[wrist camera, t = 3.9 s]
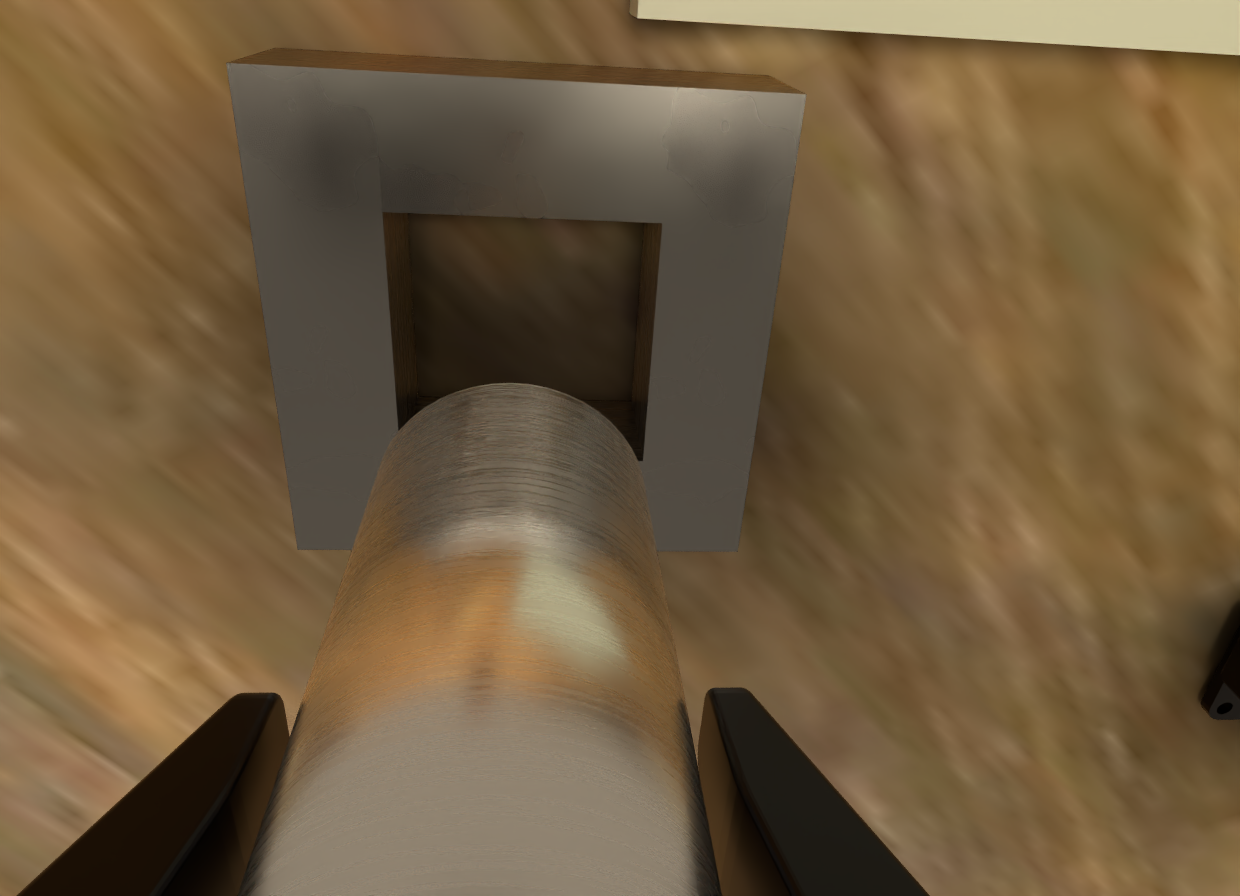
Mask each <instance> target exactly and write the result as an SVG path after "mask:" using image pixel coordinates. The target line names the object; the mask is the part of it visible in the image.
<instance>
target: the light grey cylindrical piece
mask: <svg viewBox="0 0 1240 896" xmlns="http://www.w3.org/2000/svg"><path fill="white" fill-rule="evenodd" d="M237 896H722V893H721V887H720V882H719V877H718V871H717V866H716V861H715V856H714V850H713V845H712V840H711V834H710V829H709V824H708V818H707V813H706V808H705V803H704V797H703V792H702V787H701V781H700V776H699V771H698V766H697V760H696V755H695V750H694V744H693V739H692V734H691V729H690V723H689V718H688V713H687V707H686V702H685V697H684V691H683V686H682V681H681V676H680V670H679V665H678V660H677V654H676V649H675V644H674V639H673V633H672V628H671V623H670V617H669V612H668V607H667V602H666V596H665V591H664V586H663V580H662V575H661V570H660V564H659V559H658V554H657V549H656V543H655V538H654V533H653V527H652V522H651V517H650V512H649V506H648V501H647V496H646V490H645V485H644V480H643V475H642V472H641V469H640V466H639V462H638V460H637V458H636V456H635V454H634V452H633V450H632V448H631V446H630V445H629V443H628V442H627V440H626V439H625V437H624V436H623V435H622V433H621V432H620V431H619V430H618V429H617V428H616V427H615V426H614V425H613V423H612V422H610V421H609V420H608V419H607V418H606V417H605V416H603V415H602V414H601V413H600V412H599V411H597V410H596V409H594V408H592V407H591V406H589V405H588V404H586V403H585V402H583V401H581V400H579V399H576V398H574V397H572V396H570V395H568V394H565V393H562V392H559V391H556V390H553V389H550V388H546V387H541V386H536V385H531V384H519V383H496V384H487V385H481V386H475V387H471V388H467V389H464V390H460V391H457V392H454V393H452V394H450V395H447V396H445V397H443V398H440V399H438V400H437V401H435V402H433V403H432V404H430V405H428V406H427V407H425V408H423V409H422V410H421V411H420V412H418V413H417V414H416V415H414V416H413V417H412V418H411V419H410V420H409V421H408V422H407V423H406V424H405V425H404V426H403V427H402V428H401V429H400V430H399V431H398V433H397V434H396V436H395V437H394V438H393V440H392V441H391V443H390V444H389V446H388V448H387V450H386V452H385V454H384V456H383V458H382V461H381V464H380V467H379V470H378V473H377V476H376V479H375V482H374V485H373V488H372V491H371V494H370V497H369V500H368V503H367V506H366V509H365V512H364V515H363V518H362V521H361V524H360V527H359V530H358V533H357V536H356V539H355V542H354V545H353V548H352V551H351V554H350V557H349V560H348V563H347V566H346V569H345V572H344V575H343V578H342V581H341V584H340V587H339V590H338V593H337V596H336V600H335V603H334V606H333V609H332V612H331V615H330V618H329V621H328V624H327V627H326V630H325V633H324V636H323V639H322V642H321V645H320V648H319V651H318V654H317V657H316V660H315V663H314V666H313V669H312V672H311V675H310V678H309V681H308V684H307V687H306V690H305V693H304V696H303V699H302V702H301V705H300V708H299V711H298V714H297V717H296V720H295V723H294V726H293V729H292V732H291V735H290V738H289V741H288V744H287V747H286V750H285V753H284V756H283V759H282V762H281V765H280V768H279V771H278V775H277V778H276V781H275V784H274V787H273V790H272V793H271V796H270V799H269V802H268V805H267V808H266V811H265V814H264V817H263V820H262V823H261V826H260V829H259V832H258V835H257V838H256V841H255V844H254V847H253V850H252V853H251V856H250V859H249V862H248V865H247V868H246V871H245V874H244V877H243V880H242V883H241V886H240V889H239V892H238V895H237Z"/></svg>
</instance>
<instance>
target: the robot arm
mask: <svg viewBox="0 0 1240 896" xmlns="http://www.w3.org/2000/svg"><path fill="white" fill-rule="evenodd" d="M1201 706H1202V708H1203V709H1204V710H1205V711H1206V712H1207V714H1208V715H1209V716H1210V717H1211V718H1213V719H1217V720H1233V719H1240V626H1239V628H1238V630H1237V632H1236V634H1235V636H1234V638H1233V640H1232V642H1231V644H1230V646H1229V648H1228V650H1227V652H1226V654H1225V655H1224V657H1223V659H1222V661H1221V663H1220V665H1219V667H1218V669H1217V671H1216V673H1215V675H1214V677H1213V679H1212V681H1211V683H1210V685H1209V686H1208V688H1207V690H1206V692H1205V694H1204V696H1203V698H1202V701H1201ZM289 738H290V736H289V731H288V725H287V719H286V714H285V708H284V703H283V700H282V699H281V697H280V695H278V694H276V693H240V694H237V695H235V696H233V697H232V698H231V699H229V700H228V701H227V702H226V703H225V704H224V705H223V706H222V707H221V708H220V709H218V710H217V711H216V712H215V713H214V714H213V715H212V716H211V717H210V718H209V719H208V720H206V721H205V722H204V723H203V724H202V725H201V726H200V727H199V728H198V729H197V730H196V731H195V732H193V733H192V734H191V735H190V736H189V737H188V738H187V739H186V740H185V741H184V742H183V743H182V744H180V745H179V746H178V747H177V748H176V749H175V750H174V751H173V752H172V753H171V754H170V755H169V756H167V757H166V758H165V759H164V760H163V761H162V762H161V763H160V764H159V765H158V766H157V767H155V768H154V769H153V770H152V771H151V772H150V773H149V774H148V775H147V776H146V777H145V778H144V779H142V780H141V781H140V782H139V783H138V784H137V785H136V786H135V787H134V788H133V789H132V790H131V791H129V792H128V793H127V794H126V795H125V796H124V797H123V798H122V799H121V800H120V801H119V802H117V803H116V804H115V805H114V806H113V807H112V808H111V809H110V810H109V811H108V812H107V813H106V814H104V815H103V816H102V817H101V818H100V819H99V820H98V821H97V822H96V823H95V824H94V825H93V826H91V827H90V828H89V829H88V830H87V831H86V832H85V833H84V834H83V835H82V836H81V837H80V838H78V839H77V840H76V841H75V842H74V843H73V844H72V845H71V846H70V847H69V848H68V849H66V850H65V851H64V852H63V853H62V854H61V855H60V856H59V857H58V858H57V859H56V860H55V861H53V862H52V863H51V864H50V865H49V866H48V867H47V868H46V869H45V870H44V871H43V872H42V873H40V874H39V875H38V876H37V877H36V878H35V879H34V880H33V881H32V882H31V883H30V884H28V885H27V886H26V887H25V888H24V889H23V890H22V891H21V892H20V893H19V894H18V895H17V896H237V895H238V892H239V889H240V886H241V883H242V880H243V877H244V874H245V871H246V868H247V865H248V862H249V859H250V856H251V853H252V850H253V847H254V844H255V841H256V838H257V835H258V832H259V829H260V826H261V823H262V820H263V817H264V814H265V811H266V808H267V805H268V802H269V799H270V796H271V793H272V790H273V787H274V784H275V781H276V778H277V775H278V771H279V768H280V765H281V762H282V759H283V756H284V753H285V750H286V747H287V744H288V741H289ZM698 768H699V776H700V781H701V787H702V792H703V797H704V803H705V808H706V813H707V818H708V824H709V829H710V834H711V840H712V845H713V850H714V856H715V861H716V866H717V871H718V877H719V882H720V887H721V893H722V896H930V895H929V894H928V893H927V892H926V891H925V890H924V889H923V887H922V886H921V885H920V884H919V883H918V882H917V881H916V880H915V878H914V877H913V876H912V875H911V874H910V873H909V872H908V870H907V869H906V868H905V867H904V866H903V865H902V864H901V863H900V861H899V860H898V859H897V858H896V857H895V856H894V855H893V853H892V852H891V851H890V850H889V849H888V848H887V847H886V845H885V844H884V843H883V842H882V841H881V840H880V839H879V838H878V836H877V835H876V834H875V833H874V832H873V831H872V830H871V828H870V827H869V826H868V825H867V824H866V823H865V822H864V820H863V819H862V818H861V817H860V816H859V815H858V814H857V813H856V811H855V810H854V809H853V808H852V807H851V806H850V805H849V803H848V802H847V801H846V800H845V799H844V798H843V797H842V795H841V794H840V793H839V792H838V791H837V790H836V789H835V788H834V786H833V785H832V784H831V783H830V782H829V781H828V780H827V778H826V777H825V776H824V775H823V774H822V773H821V772H820V770H819V769H818V768H817V767H816V766H815V765H814V764H813V763H812V761H811V760H810V759H809V758H808V757H807V756H806V755H805V753H804V752H803V751H802V750H801V749H800V748H799V747H798V746H797V744H796V743H795V742H794V741H793V740H792V739H791V738H790V736H789V735H788V734H787V733H786V732H785V731H784V730H783V728H782V727H781V726H780V725H779V724H778V723H777V722H776V721H775V719H774V718H773V717H772V716H771V715H770V714H769V713H768V711H767V710H766V709H765V708H764V707H763V706H762V705H761V703H760V702H759V701H758V700H757V699H756V698H755V697H754V696H753V694H752V693H751V692H750V691H748V690H747V689H745V688H712V689H710V690H709V691H708V692H707V693H706V696H705V700H704V707H703V714H702V721H701V728H700V735H699V743H698Z"/></svg>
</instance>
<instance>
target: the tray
mask: <svg viewBox="0 0 1240 896" xmlns="http://www.w3.org/2000/svg"><path fill="white" fill-rule="evenodd" d="M629 14H631V15H633V16H634V17H636V18H641V19H658V20H674V21H690V22H706V23H723V24H739V25H755V26H772V27H788V28H804V29H821V30H837V31H853V32H870V33H886V34H902V35H918V36H935V37H951V38H967V39H984V40H1000V41H1016V42H1033V43H1049V44H1065V45H1082V46H1098V47H1114V48H1130V49H1147V50H1163V51H1179V52H1196V53H1212V54H1228V55H1240V0H630V10H629Z"/></svg>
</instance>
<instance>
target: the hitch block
mask: <svg viewBox="0 0 1240 896" xmlns="http://www.w3.org/2000/svg"><path fill="white" fill-rule="evenodd" d="M226 65H227V71H228V78H229V85H230V92H231V99H232V105H233V112H234V119H235V126H236V133H237V139H238V146H239V153H240V160H241V167H242V174H243V180H244V187H245V194H246V201H247V208H248V214H249V221H250V228H251V235H252V242H253V248H254V255H255V262H256V269H257V276H258V282H259V289H260V296H261V303H262V310H263V317H264V323H265V330H266V337H267V344H268V351H269V357H270V364H271V371H272V378H273V385H274V391H275V398H276V405H277V412H278V419H279V425H280V432H281V439H282V446H283V453H284V460H285V466H286V473H287V480H288V487H289V494H290V500H291V507H292V514H293V521H294V528H295V534H296V541H297V548H298V550H352V548H353V545H354V542H355V539H356V536H357V533H358V530H359V527H360V524H361V521H362V518H363V515H364V512H365V509H366V506H367V503H368V500H369V497H370V494H371V491H372V488H373V485H374V482H375V479H376V476H377V473H378V470H379V467H380V464H381V461H382V458H383V456H384V454H385V452H386V450H387V448H388V446H389V444H390V443H391V441H392V440H393V438H394V437H395V436H396V434H397V433H398V431H399V430H400V429H401V428H402V427H403V426H404V425H405V424H406V423H407V422H408V421H409V420H410V419H411V418H412V417H413V416H414V415H416V414H417V413H418V412H420V411H421V410H422V409H423V408H425V407H427V406H428V405H430V404H432V403H433V402H435V401H437V400H438V399H440V398H443V397H419V396H418V380H417V363H416V346H415V329H414V312H413V295H412V278H411V261H410V244H409V227H408V213H418V214H444V215H469V216H494V217H519V218H545V219H570V220H595V221H620V222H644V232H643V246H642V260H641V274H640V288H639V302H638V316H637V330H636V344H635V358H634V372H633V386H632V400H631V401H602V400H581V401H583V402H585V403H586V404H588V405H589V406H591V407H592V408H594V409H596V410H597V411H599V412H600V413H601V414H602V415H603V416H605V417H606V418H607V419H608V420H609V421H610V422H612V423H613V425H614V426H615V427H616V428H617V429H618V430H619V431H620V432H621V433H622V435H623V436H624V437H625V439H626V440H627V442H628V443H629V445H630V446H631V448H632V450H633V452H634V454H635V456H636V458H637V460H638V462H639V466H640V469H641V472H642V475H643V480H644V485H645V490H646V496H647V501H648V506H649V512H650V517H651V522H652V527H653V533H654V538H655V543H656V549H657V551H716V552H738V546H739V539H740V532H741V526H742V519H743V512H744V506H745V499H746V493H747V486H748V479H749V473H750V466H751V459H752V453H753V446H754V439H755V433H756V426H757V420H758V413H759V406H760V400H761V393H762V386H763V380H764V373H765V366H766V360H767V353H768V346H769V340H770V333H771V327H772V320H773V313H774V307H775V300H776V293H777V287H778V280H779V273H780V267H781V260H782V254H783V247H784V240H785V234H786V227H787V220H788V214H789V207H790V200H791V194H792V187H793V180H794V174H795V167H796V161H797V154H798V147H799V141H800V134H801V127H802V121H803V114H804V107H805V101H806V94H805V93H803V92H801V91H799V90H797V89H795V88H793V87H791V86H789V85H787V84H785V83H783V82H781V81H779V80H777V79H775V78H773V77H771V76H766V75H748V74H730V73H712V72H695V71H677V70H659V69H641V68H623V67H605V66H587V65H570V64H552V63H534V62H516V61H498V60H480V59H462V58H445V57H427V56H409V55H391V54H373V53H355V52H337V51H320V50H302V49H284V48H273V49H270V50H267V51H263V52H260V53H257V54H254V55H250V56H247V57H244V58H241V59H237V60H234V61H231V62H227V63H226Z"/></svg>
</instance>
